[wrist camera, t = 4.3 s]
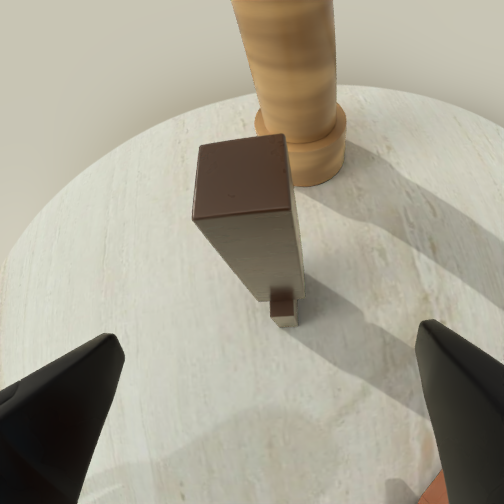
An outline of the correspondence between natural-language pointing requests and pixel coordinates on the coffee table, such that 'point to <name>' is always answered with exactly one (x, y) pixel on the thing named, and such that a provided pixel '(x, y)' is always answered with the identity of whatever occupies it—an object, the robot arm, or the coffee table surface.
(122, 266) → the coffee table surface
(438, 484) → the bowl
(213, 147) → the brown long block
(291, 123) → the pepper mill
